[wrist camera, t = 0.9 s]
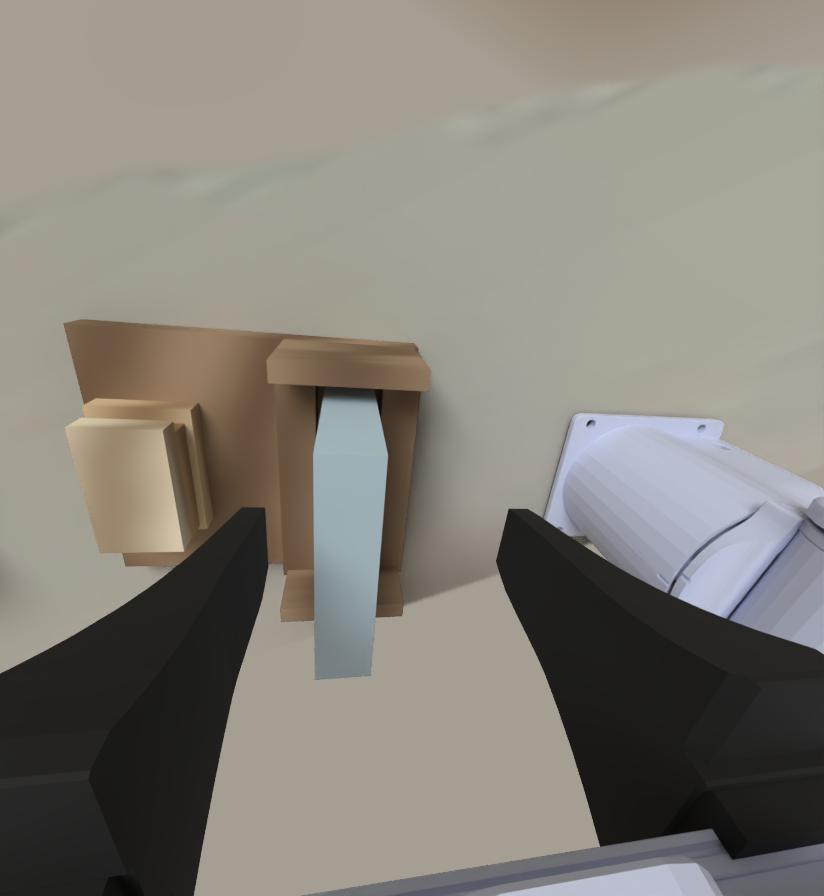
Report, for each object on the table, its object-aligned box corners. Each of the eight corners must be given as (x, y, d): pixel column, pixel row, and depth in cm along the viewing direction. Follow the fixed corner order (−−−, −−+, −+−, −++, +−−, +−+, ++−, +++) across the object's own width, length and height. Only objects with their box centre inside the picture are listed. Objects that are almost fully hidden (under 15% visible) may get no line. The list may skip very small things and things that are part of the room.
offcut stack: (198, 402, 17) (171, 428, 15) (213, 516, 20) (192, 557, 17) (95, 398, 17) (47, 424, 14) (124, 517, 19) (88, 559, 16)
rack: (414, 343, 19) (436, 370, 14) (394, 546, 24) (406, 615, 19) (82, 319, 16) (-24, 342, 12) (136, 551, 21) (78, 631, 17)
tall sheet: (371, 378, 18) (388, 455, 11) (362, 539, 22) (370, 675, 15) (327, 376, 18) (313, 454, 11) (325, 539, 21) (315, 679, 14)
